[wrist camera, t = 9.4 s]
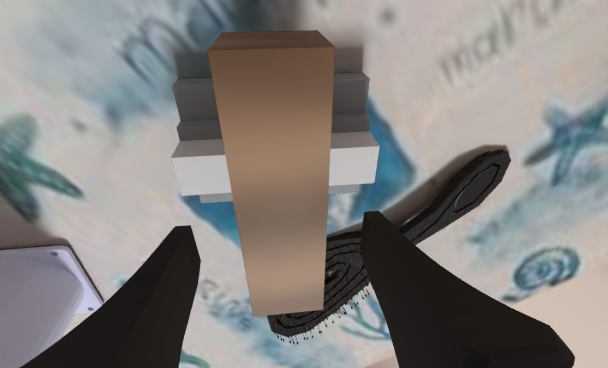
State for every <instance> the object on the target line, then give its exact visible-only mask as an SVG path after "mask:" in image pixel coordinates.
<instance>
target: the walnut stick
mask: <svg viewBox="0 0 608 368" xmlns="http://www.w3.org/2000/svg"><path fill="white" fill-rule="evenodd" d="M208 57H209V63H210V69H211V74H212V80H213V86H214V92H215V98H216V103H217V109H218V115H219V121H220V127H221V133H222V138H223V144H224V150H225V156H226V162H227V167H228V173H229V179H230V185H231V191H232V196H233V202H234V208H235V214H236V220H237V225H238V231H239V237H240V243H241V249H242V255H243V260H244V266H245V272H246V278H247V284H248V289H249V295H250V301H251V307H252V313H253V317H256V316H265V315H275V314H285V313H295V312H305V311H315V310H323V301H324V279H325V257H326V235H327V213H328V191H329V169H330V148H331V126H332V104H333V82H334V60H335V47H334V46H333V45H332V44H331V43H330V42H329V41H328V40H327V39H326V38H325V37H324V36H323V35H322V34H321V33H319V32H318V31H317V30H313V31H270V32H227V33H222V34H221V35H220V36H219V37H218V39H217V40H216V41H215V42H214V43H213V45H212V46H211V47H210V48H209V49H208Z"/></svg>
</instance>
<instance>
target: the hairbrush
mask: <svg viewBox="0 0 608 368" xmlns="http://www.w3.org/2000/svg"><path fill="white" fill-rule="evenodd" d="M489 152H490V151H489ZM489 152H486V153H484V154H481V155H479V156H477V157H476V158H475V159H474V160H473V161H472V162H471V163H470V164H469V165H468V166H467V167H465V168H464V169H463V170H462V171H461V172H460V173H459V174H458V175H457V176H456V177H455V178H454V179H453V180H452V181H451V182H450V184H449V185H448V186H447V187H446V188H445V189H444V190H443V192H442V193H441V194H440V195H439V196H438V197H437V198H436V200H435V201H434V202H433V203H432V204H431V205H430V206H429V207H428V208H426V209H425V210H424V211H422V212H421V213H420V214H418V215H417V216H416V217H414V218H413V219H412V220H410V221H409V222H407V223H406V224H405V225H403V226H402V227H401V228H399V229H398V230H399V231H400V232H401V233H402V234H403V235H404V236H405V237H406V238H407V239H409V240H410V241H411V242H412V243H413V244H414V245H416V244H418V243H420V242H421V241H423V240H425V239H426V238H428V237H430V236H431V235H433V234H434V233H436V232H438V231H439V230H441V229H443V228H444V227H446V226H448V225H449V224H451V223H452V222H454V221H455V220H457V219H459V218H460V217H462V216H463V215H465V214H466V213H468V212H470V211H471V210H473V209H474V208H476V207H478V206H479V205H480V204H481V203H482V202H483V201H484V200H485V198H486V197H487V196H488V195H489V194H490V193H491V192H492V191H493V190H494V189H495V188H496V187H497V185H498V184H499V183H500V182H501V181H502V179H503V177H504V174H505V172H506V170H507V168H508V166H509V164H510V162H511V159H510V157H509V155H508V152H506V151H504V150H497V151H494V152H492V153H490V154H488V155H486V154H487V153H489ZM484 155H486V156H484ZM483 156H484V157H483ZM493 163H495V165H493ZM348 233H356V234H348V235H343V234H341V235H340V236H339V235H338V236H334V237H330V238H328V239H326V257H325V278H326V277H327V275H328V273H329V272H330V271H331V272H332V271H334V275H333V276H332V277H331V278H330V277H327V278H328V279H326V280H325V279H324V301H323V310H315V311H305V312H295V313H285V314H275V315H267V318H268V321H269V324H270V327H271V331H273V332H274V333H275V334H276V333H278V334H281V335H283V336H286V337H288V338H289V337H290V336H291V337H292V336H294V335H297V334H301V333H304V332H305V333H306V332H307V331H309V330H311V329H314V327H315V326H316V325H318V324H319V323H320V324H321V322H322V321H324V320H325V319H327V320H328V318H327V317H329V316H330V315H331V314H334V312H335V313H336V311H337V310H338V309H339V310H341V309H340V307H342V306H343V305H344V304H345V305H346V304H347V301H348V302H349V300H350V299H351V300H352V299H353V298H352V297H353V296H355V295H356V294H357V295H358V292H360V291H361V290H363V291H364V289H363V288H364V287H365V286H366V285H367V286H368V285H369V284H368V283H369V282H371V281H370V279H369V276H368V274H367V271H366V268H365V265H364V261H363V257H362V253H361V249H360V241H361V234H362V231H358V232H348ZM344 234H347V233H344ZM346 263H347V264H349V266H348V268H347V264H346ZM335 270H336V272H335ZM332 274H333V273H332ZM371 285H372V284H371ZM372 287H373V286H372ZM366 290H367V289H366ZM367 292H368V291H367ZM368 294H369V293H368ZM369 295H370V294H369ZM365 296H366V295H365ZM362 299H364V298H363V297H362ZM353 301H354V300H353ZM354 303H355V302H354ZM357 304H358V302H357ZM355 306H356V304H355ZM343 308H344V307H343ZM343 308H342V309H343ZM351 309H353V308H352V307H351ZM343 311H345V309H344V310H343ZM337 313H338V312H337ZM345 313H346V311H345V312H344V314H345ZM346 314H347V313H346ZM339 318H340V316H339ZM324 322H325V321H324ZM332 322H333V323H334V321H332ZM318 326H319V325H318ZM318 326H317V327H318ZM326 327H327V325H326ZM310 332H311V331H310ZM320 332H321V333H322V331H319V333H320ZM321 333H320V334H321ZM278 334H277V335H278ZM303 335H304V334H303ZM306 336H307V335H306ZM280 337H281V336H280ZM295 337H296V336H295ZM312 338H313V335H312ZM278 339H279V336H278ZM304 339H306V338H305V337H304ZM281 340H282V338H281ZM292 340H293V339H292ZM296 340H297V339H296ZM307 340H308V338H307ZM283 341H284V339H283ZM290 343H291V341H290ZM293 344H294V341H293ZM297 344H298V342H297Z"/></svg>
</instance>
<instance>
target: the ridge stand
mask: <svg viewBox="0 0 608 368" xmlns="http://www.w3.org/2000/svg"><path fill="white" fill-rule="evenodd" d="M369 80H370V79H369V78H368V77H367V76H366V75H365V74H364V73H363V72H358V73H334V82H333V104H332V126H331V148H330V169H329V191H328V194H340V193H355V192H357V189H358V184H365V183H374V181H375V174H376V167H377V160H378V153H379V145H378V143H377V142H376V140H375V139H374V137H373V136H372V135H371V133H370V132H369V128H370V119H371V118H370V117H369V116H368V114H367V113H366V107H367V98H368V89H369ZM172 87H173V91H174V95H175V100H176V104H177V108H178V112H179V116H180V120H181V121H180V123H179V125H178V126H177V131H178V135H179V139H180V142H179V144H178V146H177V148H176V150H175V152H174V153H173V155H172V157H171V160H172V163H173V166H174V170H175V173H176V177H177V180H178V184H179V187H180V191H181V194H182V196H186V195H199V197H200V201H201V203H211V202H225V201H233V196H232V191H231V185H230V179H229V173H228V167H227V162H226V156H225V150H224V144H223V138H222V133H221V127H220V121H219V115H218V109H217V103H216V98H215V92H214V86H213V80H212V78H188V79H178V80H177V81H176V82H175V84H174V85H173V86H172Z"/></svg>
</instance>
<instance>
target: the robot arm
mask: <svg viewBox="0 0 608 368" xmlns="http://www.w3.org/2000/svg"><path fill="white" fill-rule="evenodd" d="M360 249H361V253H362V257H363V261H364V265H365V268H366V271H367V274H368V276H369V279H370V281H371V284H372V286H373V289H374V291H375V294H376V296H377V299H378V301H379V304H380V306H381V309H382V311H383V314H384V317H385V320H386V322H387V325H388V329H389V332H390V336H391V339H392V342H393V346H394V349H395V353H396V357H397V361H398V364H399V368H572V367H573V365H574V360H575V356H574V355H573V353H572V352H571V350H570V349H569V348H568V347H567V345H566V344H565V343H564V342H563V341H562V339H561V338H560V337H559V336H558V335H557V333H556V332H555V331H554V330H553V329H552V328H551V327H550V326H549V325H547V324H545V323H543V322H541V321H538V320H536V319H534V318H532V317H530V316H527V315H525V314H523V313H521V312H519V311H516V310H514V309H512V308H510V307H509V306H507V305H505V304H503V303H501V302H499V301H497V300H495V299H493V298H491V297H489V296H488V295H486V294H484V293H482V292H481V291H479V290H477V289H476V288H474V287H472V286H471V285H469V284H467V283H466V282H464V281H462V280H461V279H459V278H458V277H456V276H455V275H453V274H452V273H450V272H449V271H448V270H446V269H445V268H443V267H442V266H440V265H439V264H438V263H436V262H435V261H434V260H432V259H431V258H430V257H429V256H427V255H426V254H425V253H424V252H422V251H421V250H420V249H419V248H418V247H416V246H415V245H414V244H413V243H412V242H411V241H410V240H409V239H407V238H406V237H405V236H404V235H403V234H402V233H401V232H400V231H399V230H398V229H397V228H396V227H395V226H394V225H393V224H392V223H390V222H389V221H388V220H387V219H386V218H385V217H384V216H383V215H382V214H381V213H380V212H379V211H369V212H364V218H363V226H362V234H361V241H360ZM200 262H201V260H200V256H199V253H198V249H197V246H196V242H195V239H194V235H193V232H192V228H191V225H189V226H176V227H174V228H173V230H172V231H171V232H170V233H169V234H168V235H167V237H166V238H165V239H164V240H163V241H162V243H161V244H160V245H159V246H158V247H157V249H156V250H155V251H154V252H153V253H152V255H151V256H150V257H149V258H148V259H147V260H146V261H145V263H144V264H143V265H142V266H141V267H140V268H139V269H138V270H137V271H136V273H135V274H134V275H133V276H132V277H131V278H130V279H129V280H128V281H127V282H126V283H125V284H124V285H123V286H122V287H121V288H120V289H119V290H118V291H117V292H116V293H115V294H114V295H113V296H112V297H111V298H110V299H109V300H107V301H106V302H105V303H103V302H102V300H101V298H100V297H99V295H98V294H97V292H96V290H95V289H94V287H93V285H92V284H91V282H90V281H89V279H88V277H87V276H86V274H85V272H84V271H83V269H82V267H81V266H80V264H79V263H78V261H77V259H76V258H75V256H74V254H73V253H72V251H71V250H70V248H68V247H67V246H48V247H35V248H22V249H10V250H0V368H178V367H179V361H180V355H181V348H182V344H183V339H184V335H185V331H186V327H187V324H188V320H189V316H190V312H191V308H192V305H193V301H194V297H195V293H196V289H197V285H198V278H199V271H200ZM88 312H94V313H93V314H91V315H90V316H89V317H88V318H86V319H85V320H84V321H83V322H81V323H80V324H79V325H78V326H76V327H75V328H74V329H73V330H72V331H70V332H69V333H68V334H66V335H65V336H64V337H62V336H63V334H64V332H65V331H66V329H67V327H68V325H69V324H70V322H71V320H72V318H73V317H74V315H75V314H78V313H88Z"/></svg>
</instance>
